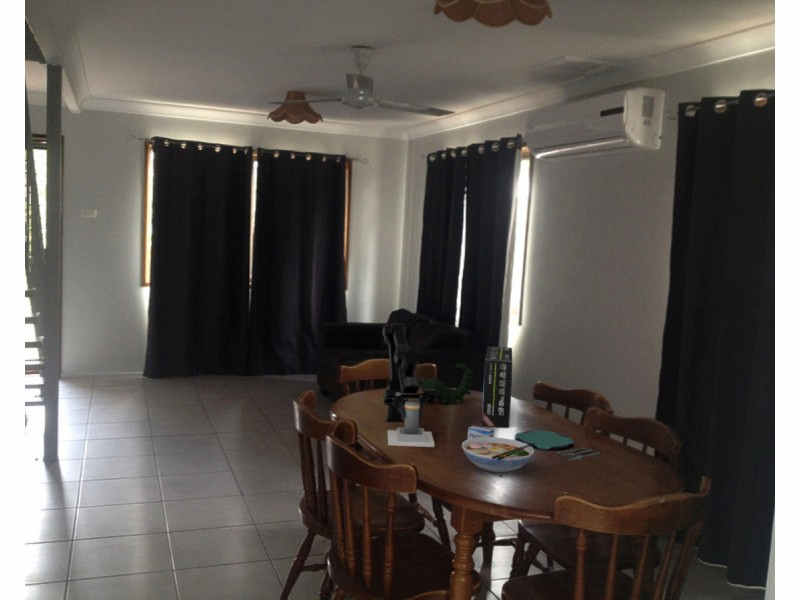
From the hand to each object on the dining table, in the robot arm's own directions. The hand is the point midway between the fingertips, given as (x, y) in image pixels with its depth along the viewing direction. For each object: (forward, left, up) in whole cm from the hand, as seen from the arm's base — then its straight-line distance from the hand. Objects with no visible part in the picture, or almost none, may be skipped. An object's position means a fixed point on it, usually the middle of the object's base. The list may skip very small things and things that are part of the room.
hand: (412, 417), depth 253 cm
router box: (-42, +37, -9) cm, 57 cm away
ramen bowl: (+27, +26, -9) cm, 38 cm away
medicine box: (+10, +23, -9) cm, 26 cm away
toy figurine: (-62, +17, -9) cm, 65 cm away
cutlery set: (-2, +51, -10) cm, 52 cm away
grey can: (-1, 0, -8) cm, 8 cm away
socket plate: (-3, 0, -9) cm, 10 cm away
